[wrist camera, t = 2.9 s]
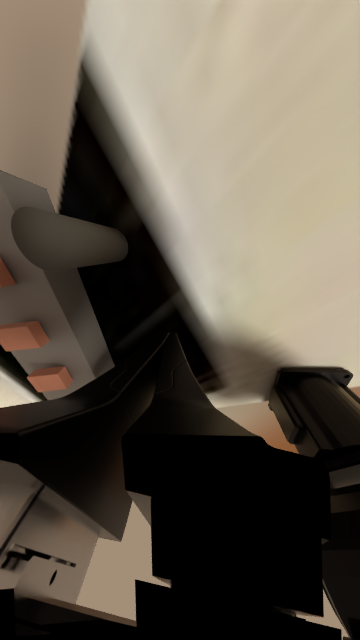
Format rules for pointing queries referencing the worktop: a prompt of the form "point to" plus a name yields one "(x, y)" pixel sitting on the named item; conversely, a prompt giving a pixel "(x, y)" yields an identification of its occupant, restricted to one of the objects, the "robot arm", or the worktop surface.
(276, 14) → the worktop surface
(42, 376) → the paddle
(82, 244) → the peg
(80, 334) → the power strip
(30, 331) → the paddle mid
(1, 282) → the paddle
